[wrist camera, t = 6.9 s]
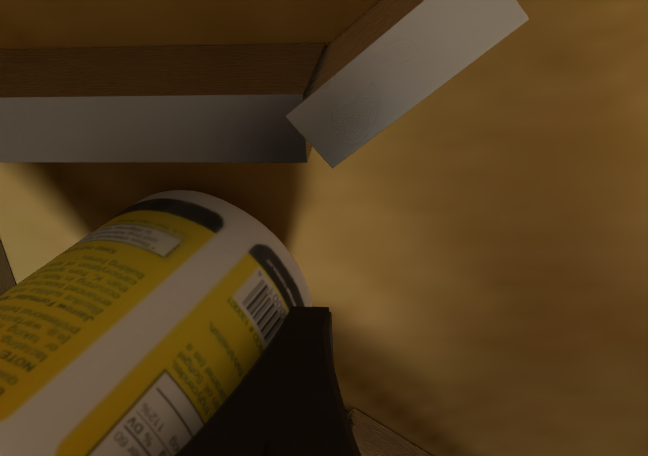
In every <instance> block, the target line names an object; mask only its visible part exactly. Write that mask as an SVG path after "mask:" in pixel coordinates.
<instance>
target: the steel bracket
mask: <svg viewBox="0 0 648 456" xmlns="http://www.w3.org/2000/svg"><path fill="white" fill-rule="evenodd" d="M527 20H529V18H528V16H527V15H526V13H525V12H524V10H523V9H522V8H521V6H520V5H519V3H518V2H517V0H381V1H379V2H378V3H377V4H376V5H375V6H374V7H373V8H371V9H370V10H369V11H368V12H367V13H366V14H364V15H363V16H362V17H361V18H360V19H359V20H357V21H356V22H355V23H354V24H353V25H352V26H351V27H349V28H348V29H347V30H346V31H345V32H344V33H342V34H341V35H340V36H339V37H338V38H337V39H336V40H334V41H333V42H332V43H331V44H330V45H329V46H327V47H326V48H325V43H297V44H248V45H198V46H149V47H100V48H50V49H1V50H0V162H271V163H307V161H308V157H309V154H310V151H311V148H312V146H313V147H314V149H315V150H316V151H317V152H318V153H319V154H320V155H321V156H322V157H323V158H324V160H325V161H326V162H327V163H328V164H329V165H330V166H331V167H332V168H334V167H335V166H336V165H338V164H339V163H340V162H342V161H343V160H344V159H346V158H347V157H348V156H349V155H351V154H352V153H353V152H355V151H356V150H357V149H359V148H360V147H361V146H363V145H364V144H365V143H367V142H368V141H369V140H371V139H372V138H373V137H375V136H376V135H377V134H378V133H380V132H381V131H382V130H384V129H385V128H386V127H388V126H389V125H390V124H392V123H393V122H394V121H396V120H397V119H398V118H400V117H401V116H402V115H404V114H405V113H406V112H408V111H409V110H410V109H411V108H413V107H414V106H415V105H417V104H418V103H419V102H421V101H422V100H423V99H425V98H426V97H427V96H429V95H430V94H431V93H433V92H434V91H435V90H437V89H438V88H439V87H440V86H442V85H443V84H444V83H446V82H447V81H448V80H450V79H451V78H452V77H454V76H455V75H456V74H458V73H459V72H460V71H462V70H463V69H464V68H466V67H467V66H468V65H469V64H471V63H472V62H473V61H475V60H476V59H477V58H479V57H480V56H481V55H483V54H484V53H485V52H487V51H488V50H489V49H491V48H492V47H493V46H495V45H496V44H497V43H498V42H500V41H501V40H502V39H504V38H505V37H506V36H508V35H509V34H510V33H512V32H513V31H514V30H516V29H517V28H518V27H520V26H521V25H522V24H524V23H525V22H526V21H527ZM14 286H16V284H15V281H14V278H13V275H12V273H11V270H10V267H9V264H8V261H7V258H6V256H5V253H4V250H3V247H2V244H1V241H0V296H1V295H3V294H4V293H5V292H7V291H8V290H10V289H11V288H13V287H14ZM347 417H348V420H349V423H350V426H351V429H352V432H353V435H354V438H355V440H356V443H357V446H358V448H359V451H360V454H361V456H431V455H430V454H428V453H426V452H425V451H423V450H421V449H420V448H418V447H417V446H415V445H413V444H412V443H410V442H408V441H407V440H405V439H404V438H402V437H400V436H399V435H397V434H395V433H394V432H392V431H391V430H389V429H387V428H386V427H384V426H383V425H381V424H379V423H378V422H376V421H374V420H373V419H371V418H370V417H368V416H366V415H365V414H363V413H361V412H360V411H358V410H357V409H355V408H354V409H352V410H351V411H350V412H349V413H348V414H347Z"/></svg>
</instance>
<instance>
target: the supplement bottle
mask: <svg viewBox="0 0 648 456" xmlns="http://www.w3.org/2000/svg"><path fill="white" fill-rule="evenodd" d="M291 306H299V307H313V306H312V300H311V296H310V292H309V289H308V286H307V284H306V281H305V279H304V276H303V274H302V272H301V270H300V268H299V266H298V264H297V263H296V261H295V259H294V258H293V256H292V255H291V254H290V252H289V251H288V250H287V249H286V247H285V246H284V245H283V244H282V242H281V241H280V240H279V239H278V238H277V237H276V236H275V235H274V234H273V233H272V232H271V231H270V230H269V229H268V228H267V227H266V226H264V225H263V224H262V223H261V222H259V221H258V220H257V219H255V218H254V217H252V216H251V215H249V214H248V213H246V212H245V211H243V210H241V209H240V208H238V207H236V206H234V205H232V204H230V203H228V202H226V201H224V200H222V199H219V198H217V197H214V196H211V195H208V194H206V193H202V192H197V191H191V190H170V191H163V192H159V193H155V194H153V195H150V196H147V197H145V198H143V199H141V200H139V201H138V202H136V203H135V204H133V205H131V206H130V207H128V208H127V209H125V210H124V211H122V212H121V213H119V214H118V215H117V216H115V217H114V218H113V219H111V220H110V221H108V222H106V223H105V224H103V225H102V226H100V227H99V228H98V229H96V230H95V231H93V232H92V233H91V234H89V235H88V236H86V237H85V238H83V239H82V240H80V241H79V242H78V243H76V244H75V245H73V246H72V247H70V248H69V249H68V250H66V251H65V252H63V253H62V254H60V255H59V256H57V257H56V258H54V259H53V260H51V261H50V262H49V263H47V264H46V265H44V266H43V267H42V268H40V269H39V270H37V271H36V272H34V273H33V274H31V275H30V276H28V277H27V278H26V279H24V280H23V281H21V282H20V283H18V284H17V285H16V286H14V287H13V288H11V289H10V290H8V291H7V292H5V293H4V294H3V295H1V296H0V456H174V455H175V454H176V453H178V452H179V451H180V450H181V449H182V448H183V447H184V446H185V445H186V444H187V443H188V441H189V440H190V439H191V438H192V437H193V436H194V435H195V434H196V433H197V432H198V431H199V430H200V429H201V428H202V427H203V426H204V425H205V423H206V422H207V421H208V420H209V419H210V418H211V417H212V415H213V414H214V413H215V412H216V411H217V410H218V408H219V407H220V406H221V405H222V404H223V403H224V401H225V400H226V399H227V398H228V397H229V396H230V394H231V393H232V392H233V391H234V390H235V388H236V387H237V386H238V385H239V383H240V382H241V381H242V379H243V378H244V377H245V376H246V374H247V373H248V372H249V370H250V369H251V368H252V366H253V365H254V364H255V362H256V361H257V360H258V358H259V357H260V356H261V354H262V353H263V351H264V350H265V349H266V347H267V346H268V344H269V343H270V341H271V340H272V338H273V337H274V335H275V334H276V332H277V331H278V329H279V328H280V326H281V325H282V323H283V321H284V320H285V318H286V316H287V315H288V312H289V310H290V308H291Z"/></svg>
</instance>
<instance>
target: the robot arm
mask: <svg viewBox="0 0 648 456" xmlns="http://www.w3.org/2000/svg"><path fill="white" fill-rule="evenodd" d="M174 456H361V454H360V451H359V448H358V446H357V443H356V440H355V438H354V435H353V432H352V429H351V426H350V423H349V420H348V417H347V414H346V411H345V407H344V404H343V401H342V397H341V393H340V389H339V385H338V381H337V377H336V373H335V369H334V363H333V339H332V316H331V312H330V311H329V307H299V306H291V308H290V310H289V312H288V315H287V316H286V318H285V320H284V321H283V323H282V325H281V326H280V328H279V329H278V331H277V332H276V334H275V335H274V337H273V338H272V340H271V341H270V343H269V344H268V346H267V347H266V349H265V350H264V351H263V353H262V354H261V356H260V357H259V358H258V360H257V361H256V362H255V364H254V365H253V366H252V368H251V369H250V370H249V372H248V373H247V374H246V376H245V377H244V378H243V379H242V381H241V382H240V383H239V385H238V386H237V387H236V388H235V390H234V391H233V392H232V393H231V394H230V396H229V397H228V398H227V399H226V400H225V401H224V403H223V404H222V405H221V406H220V407H219V408H218V410H217V411H216V412H215V413H214V414H213V415H212V417H211V418H210V419H209V420H208V421H207V422H206V423H205V425H204V426H203V427H202V428H201V429H200V430H199V431H198V432H197V433H196V434H195V435H194V436H193V437H192V438H191V439H190V440H189V441H188V443H187V444H186V445H185V446H184V447H183V448H182V449H181V450H180V451H179V452H178V453H176V454H175V455H174Z"/></svg>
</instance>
